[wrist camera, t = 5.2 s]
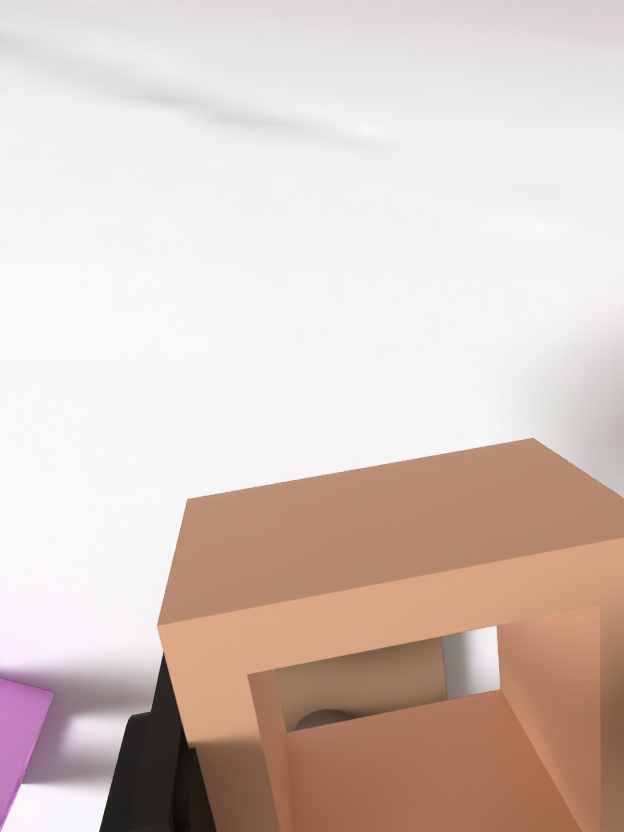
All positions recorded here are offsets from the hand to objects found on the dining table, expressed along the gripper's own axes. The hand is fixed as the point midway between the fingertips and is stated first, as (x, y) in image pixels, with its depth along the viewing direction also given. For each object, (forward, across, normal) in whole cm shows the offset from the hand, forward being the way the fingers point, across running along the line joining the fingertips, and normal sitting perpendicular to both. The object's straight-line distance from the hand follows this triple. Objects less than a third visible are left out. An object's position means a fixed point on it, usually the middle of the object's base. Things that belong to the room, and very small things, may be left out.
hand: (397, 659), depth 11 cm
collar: (+1, 0, 0) cm, 1 cm away
